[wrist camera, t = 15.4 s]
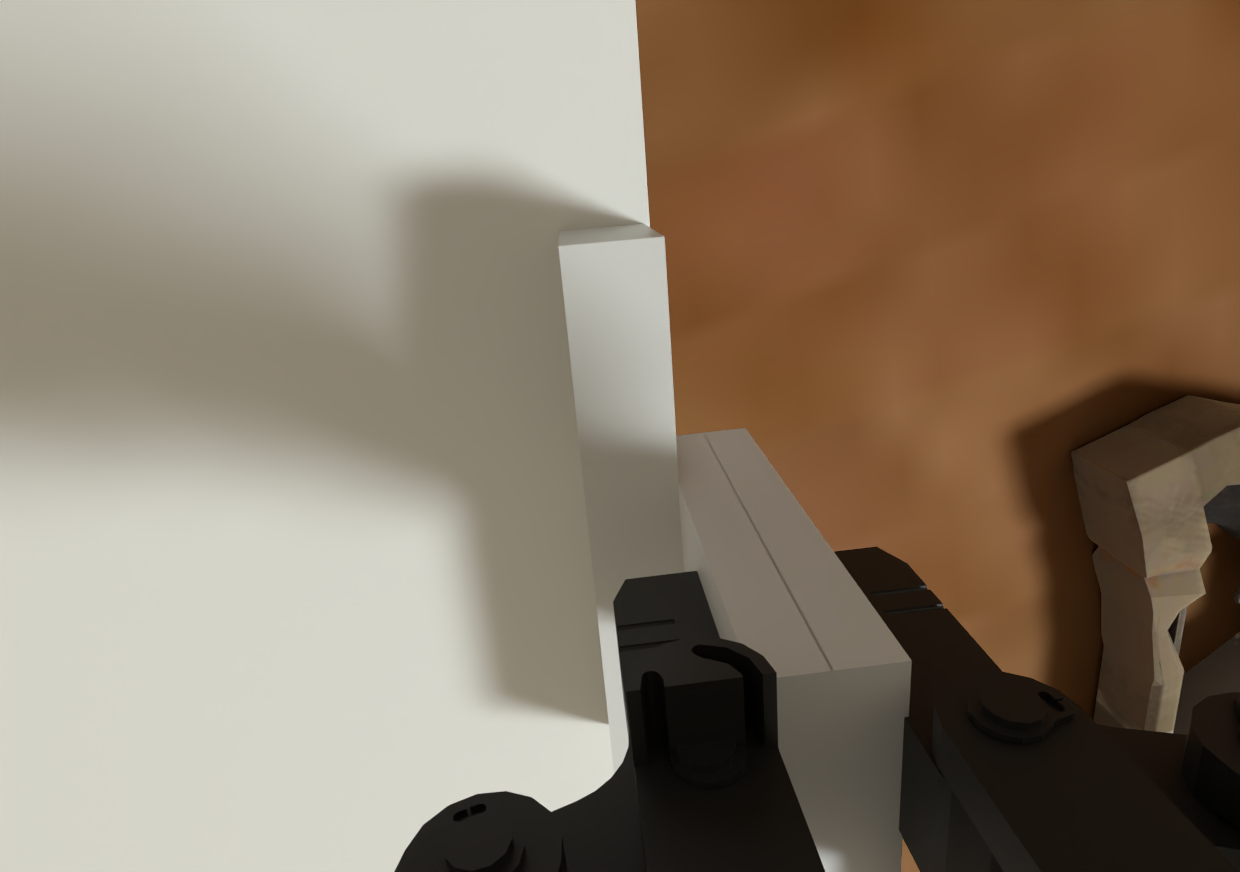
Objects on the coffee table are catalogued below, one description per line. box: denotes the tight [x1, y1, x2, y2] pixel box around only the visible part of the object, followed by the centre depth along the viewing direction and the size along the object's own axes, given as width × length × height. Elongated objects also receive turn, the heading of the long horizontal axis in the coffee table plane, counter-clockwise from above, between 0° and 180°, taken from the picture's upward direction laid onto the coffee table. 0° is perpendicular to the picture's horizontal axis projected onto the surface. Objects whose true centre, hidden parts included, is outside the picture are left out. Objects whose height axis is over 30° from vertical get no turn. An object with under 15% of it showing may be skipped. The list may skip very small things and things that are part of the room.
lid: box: [0, 0, 684, 872], centre depth 13 cm, size 22×15×3 cm
